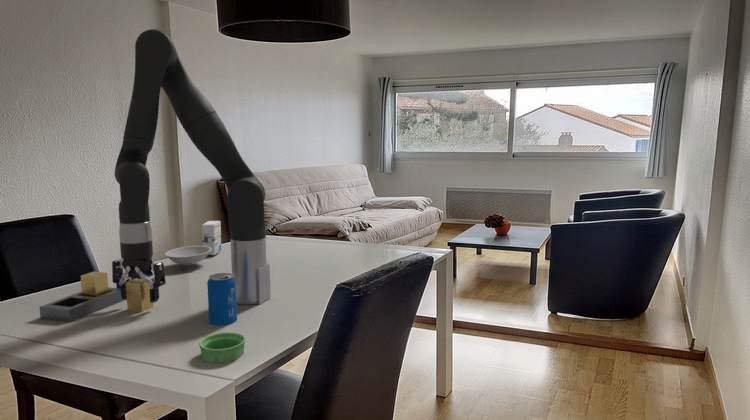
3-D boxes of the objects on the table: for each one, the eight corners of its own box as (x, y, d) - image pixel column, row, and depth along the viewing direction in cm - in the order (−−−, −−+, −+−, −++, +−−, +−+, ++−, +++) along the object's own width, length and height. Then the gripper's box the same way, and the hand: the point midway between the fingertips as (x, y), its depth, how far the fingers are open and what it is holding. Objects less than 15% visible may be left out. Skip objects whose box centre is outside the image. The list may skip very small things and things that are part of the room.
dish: (193, 273, 173) (192, 258, 172) (155, 270, 177) (154, 255, 176) (221, 260, 190) (220, 246, 189) (185, 258, 193) (185, 244, 193)
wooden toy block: (153, 308, 139) (151, 279, 137) (142, 314, 134) (140, 283, 133) (139, 306, 140) (137, 277, 139) (127, 312, 136) (125, 282, 134)
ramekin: (190, 366, 105) (189, 345, 104) (219, 349, 113) (218, 329, 112) (228, 374, 102) (227, 352, 101) (254, 355, 110) (254, 335, 109)
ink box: (209, 250, 206) (208, 220, 205) (222, 250, 206) (221, 220, 205) (202, 255, 198) (200, 224, 196) (215, 255, 198) (214, 224, 196)
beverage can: (222, 331, 123) (220, 281, 121) (203, 325, 126) (201, 277, 125) (242, 322, 128) (241, 274, 127) (224, 317, 132) (222, 271, 130)
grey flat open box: (124, 301, 144) (123, 288, 144) (70, 324, 127) (69, 310, 127) (97, 298, 147) (96, 286, 146) (40, 320, 130) (39, 306, 129)
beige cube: (109, 301, 142) (107, 272, 141) (96, 306, 138) (94, 277, 137) (95, 300, 143) (93, 271, 142) (83, 305, 139) (80, 275, 138)
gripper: (169, 237, 136) (173, 298, 138) (123, 234, 140) (127, 294, 142) (149, 243, 129) (153, 307, 131) (101, 240, 133) (106, 302, 135)
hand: (140, 300), depth 137 cm, fingers open, 8 cm apart
